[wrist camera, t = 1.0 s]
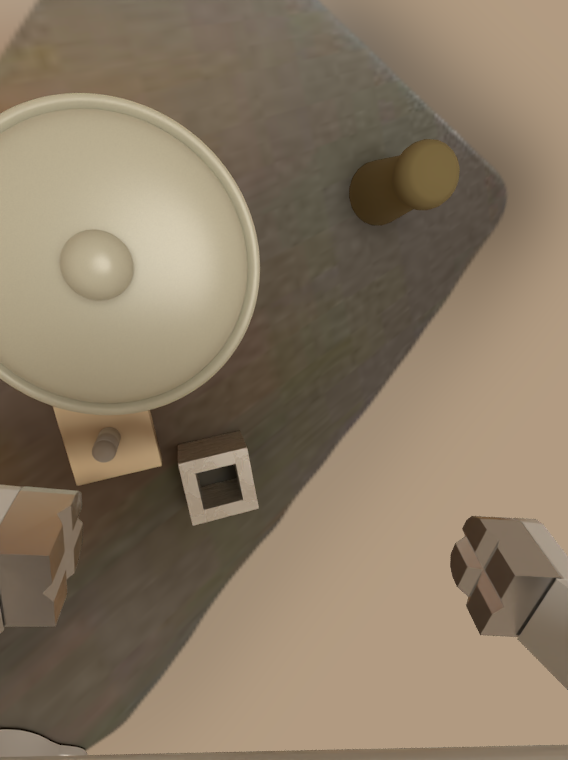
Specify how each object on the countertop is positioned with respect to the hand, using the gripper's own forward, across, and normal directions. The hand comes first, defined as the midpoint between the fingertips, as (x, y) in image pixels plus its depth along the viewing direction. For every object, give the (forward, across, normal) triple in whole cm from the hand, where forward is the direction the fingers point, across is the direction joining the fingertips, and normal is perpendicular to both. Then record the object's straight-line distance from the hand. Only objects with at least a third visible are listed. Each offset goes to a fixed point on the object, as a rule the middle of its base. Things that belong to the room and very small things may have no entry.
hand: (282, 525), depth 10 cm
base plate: (+32, -10, -21) cm, 40 cm away
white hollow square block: (+32, 0, -24) cm, 40 cm away
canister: (+37, -10, -6) cm, 38 cm away
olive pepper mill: (+42, +13, +3) cm, 44 cm away
